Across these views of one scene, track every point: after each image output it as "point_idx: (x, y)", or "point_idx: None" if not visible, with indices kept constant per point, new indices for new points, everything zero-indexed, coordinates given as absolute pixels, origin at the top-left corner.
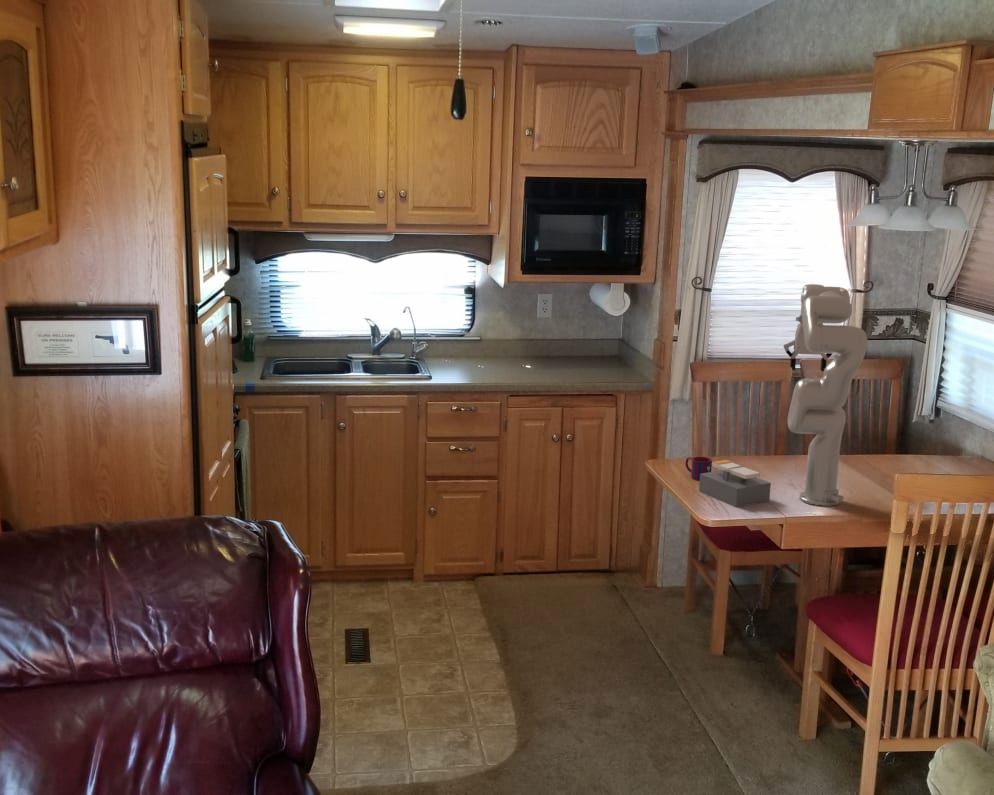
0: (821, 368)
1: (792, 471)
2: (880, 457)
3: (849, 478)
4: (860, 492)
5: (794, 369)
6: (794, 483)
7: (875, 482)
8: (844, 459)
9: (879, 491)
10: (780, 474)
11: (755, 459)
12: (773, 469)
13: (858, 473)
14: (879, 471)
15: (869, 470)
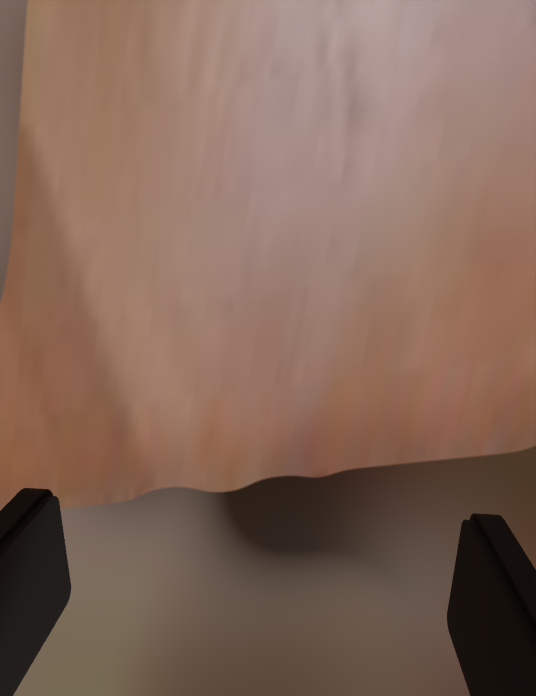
0: (45, 544)
1: (316, 290)
2: (7, 487)
3: (128, 231)
4: (109, 45)
5: (480, 514)
6: (340, 127)
7: (44, 194)
8: (118, 454)
9: (40, 74)
10: (369, 244)
11: (420, 421)
12: (382, 306)
13: (91, 299)
14: (21, 333)
15: (52, 340)
